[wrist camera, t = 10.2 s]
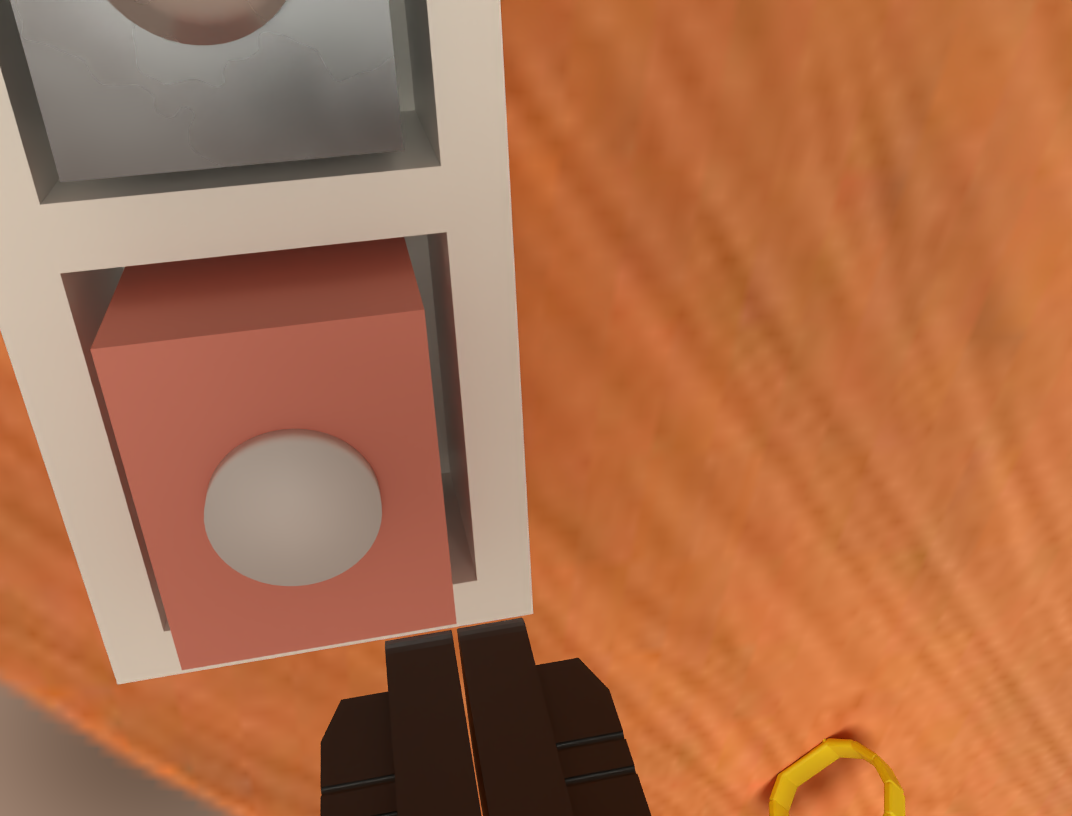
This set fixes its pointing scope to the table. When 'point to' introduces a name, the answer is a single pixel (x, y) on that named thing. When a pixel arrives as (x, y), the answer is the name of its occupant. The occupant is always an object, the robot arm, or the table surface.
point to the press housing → (267, 225)
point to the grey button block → (209, 82)
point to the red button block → (281, 446)
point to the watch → (819, 761)
